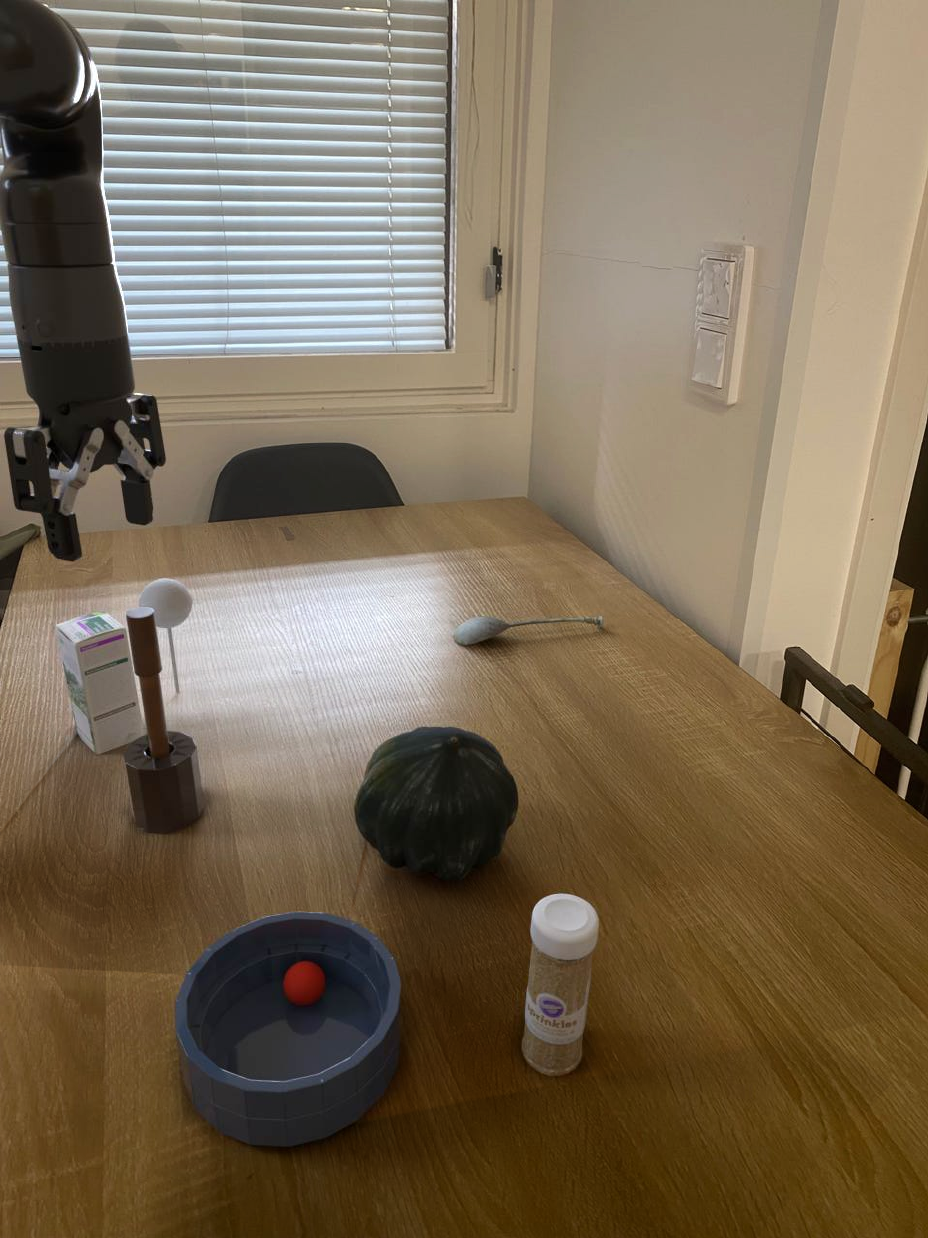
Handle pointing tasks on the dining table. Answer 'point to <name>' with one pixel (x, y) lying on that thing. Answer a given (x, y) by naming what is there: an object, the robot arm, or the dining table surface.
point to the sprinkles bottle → (558, 982)
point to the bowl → (289, 1029)
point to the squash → (436, 802)
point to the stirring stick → (149, 676)
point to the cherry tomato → (304, 983)
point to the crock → (164, 784)
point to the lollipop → (168, 609)
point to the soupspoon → (502, 627)
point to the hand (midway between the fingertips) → (105, 540)
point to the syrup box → (100, 681)
